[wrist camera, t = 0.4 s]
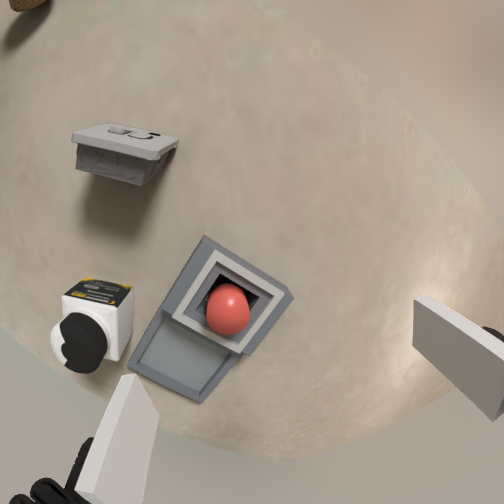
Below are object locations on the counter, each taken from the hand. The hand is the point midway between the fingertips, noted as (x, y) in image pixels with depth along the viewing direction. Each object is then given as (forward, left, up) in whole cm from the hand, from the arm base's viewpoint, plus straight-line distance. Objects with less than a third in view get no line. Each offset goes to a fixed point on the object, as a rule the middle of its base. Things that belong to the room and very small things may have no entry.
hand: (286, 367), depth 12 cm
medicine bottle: (-11, -16, -24) cm, 31 cm away
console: (+1, -12, -23) cm, 26 cm away
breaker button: (+1, -6, -19) cm, 20 cm away
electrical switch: (-17, +3, -24) cm, 29 cm away
